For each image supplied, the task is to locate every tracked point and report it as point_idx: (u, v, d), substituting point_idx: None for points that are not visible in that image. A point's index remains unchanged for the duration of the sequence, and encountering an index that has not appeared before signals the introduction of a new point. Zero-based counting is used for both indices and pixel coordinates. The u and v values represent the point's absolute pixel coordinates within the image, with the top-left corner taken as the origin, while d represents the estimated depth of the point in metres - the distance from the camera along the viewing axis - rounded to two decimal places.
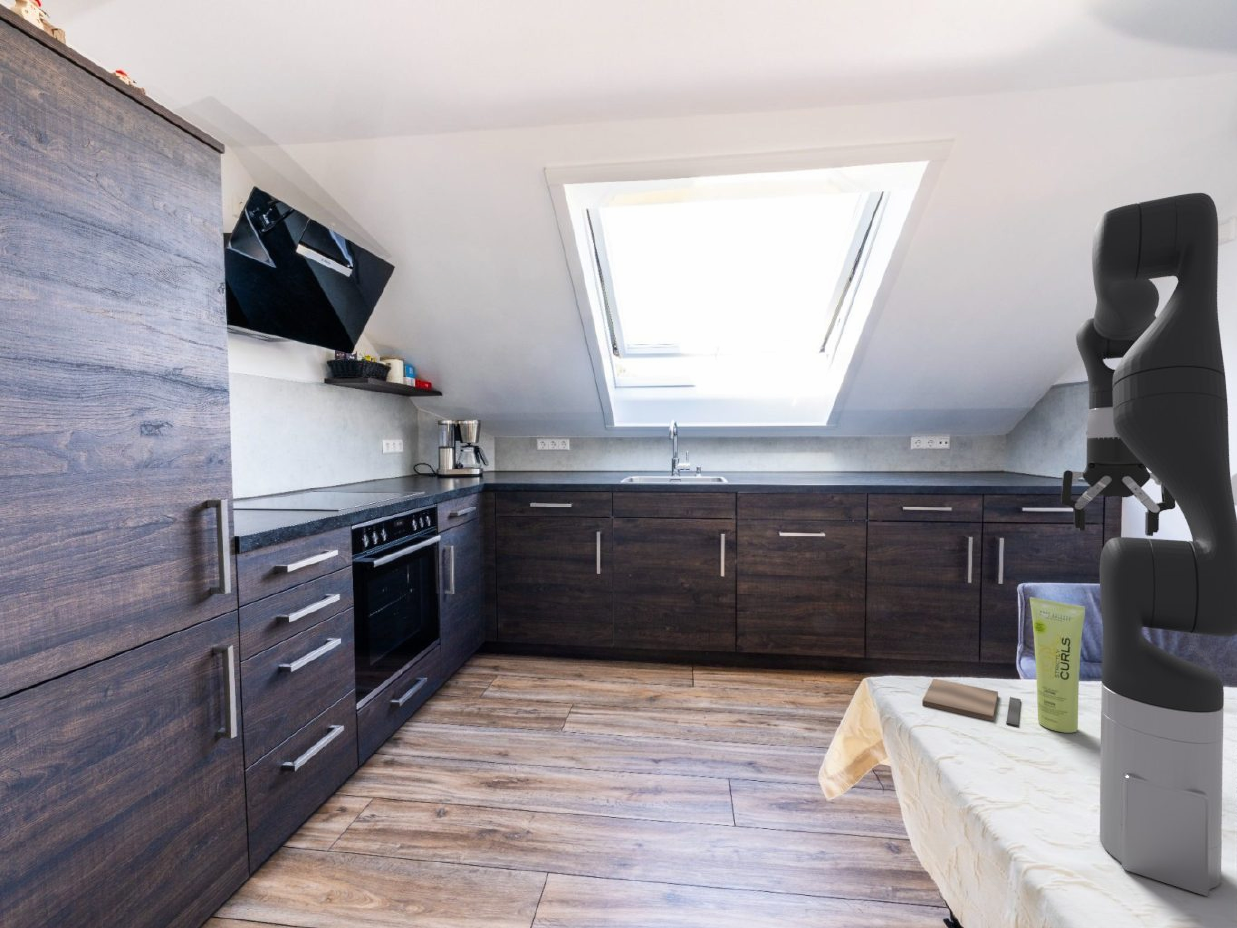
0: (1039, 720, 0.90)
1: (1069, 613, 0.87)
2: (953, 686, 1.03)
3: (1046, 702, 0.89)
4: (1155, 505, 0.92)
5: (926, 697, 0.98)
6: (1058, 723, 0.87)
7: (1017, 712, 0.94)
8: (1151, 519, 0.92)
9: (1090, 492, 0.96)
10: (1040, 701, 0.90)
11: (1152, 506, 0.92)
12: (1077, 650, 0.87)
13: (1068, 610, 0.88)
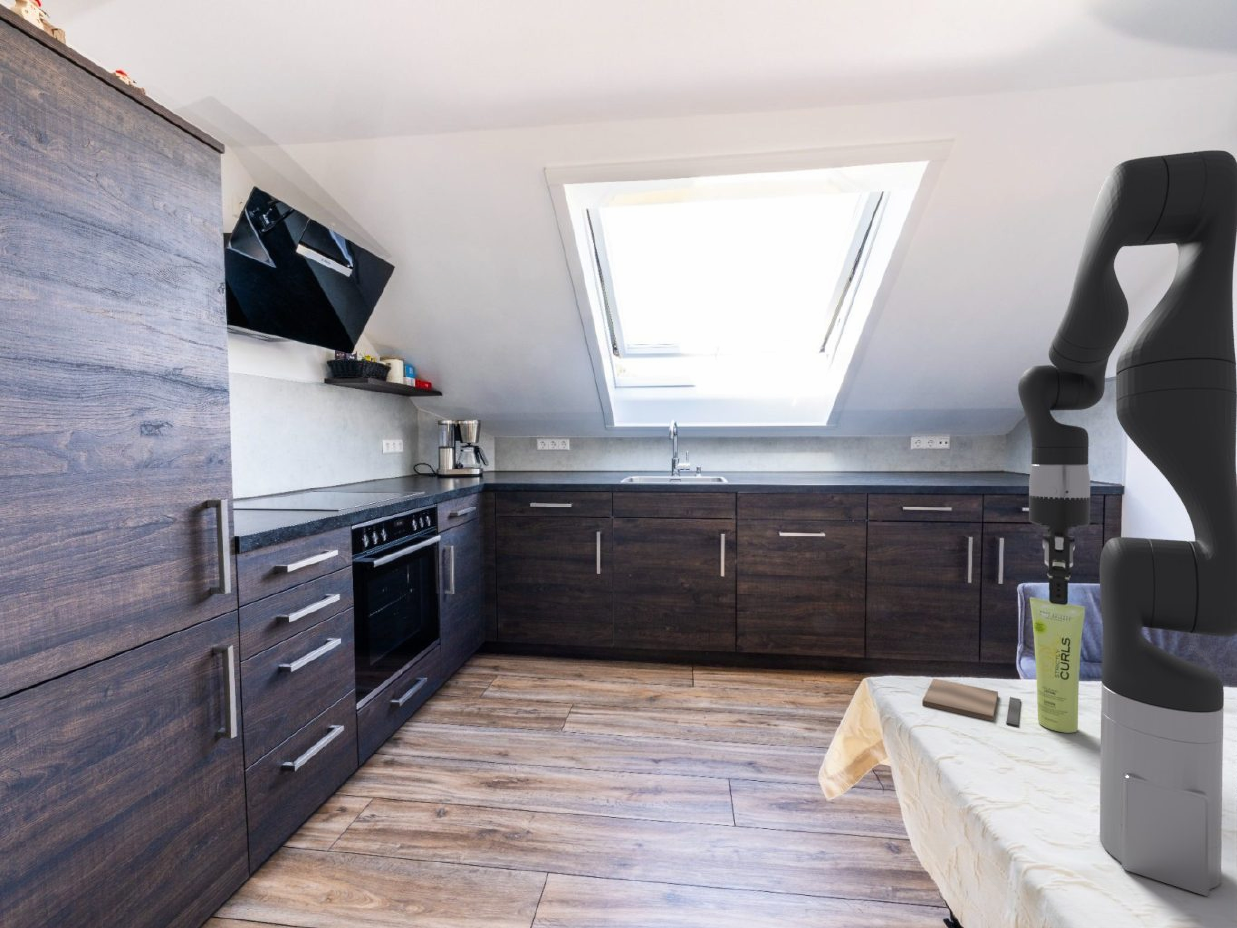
0: (1039, 720, 0.90)
1: (1069, 613, 0.87)
2: (953, 686, 1.03)
3: (1046, 702, 0.89)
4: None
5: (926, 697, 0.98)
6: (1058, 723, 0.87)
7: (1017, 712, 0.94)
8: None
9: None
10: (1040, 701, 0.90)
11: None
12: (1077, 650, 0.87)
13: (1068, 610, 0.88)
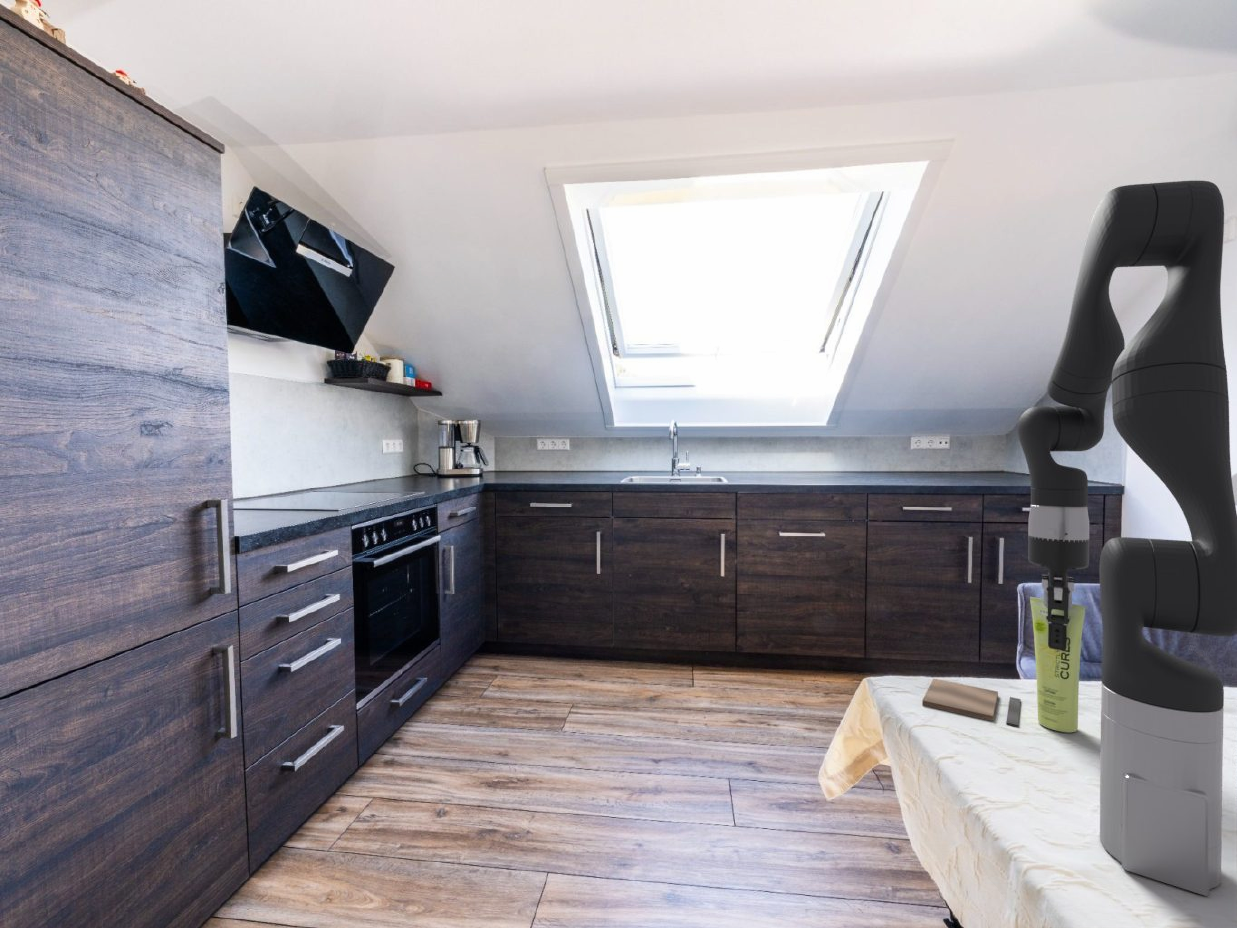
0: (1039, 720, 0.90)
1: (1069, 613, 0.88)
2: (953, 686, 1.03)
3: (1046, 702, 0.89)
4: None
5: (926, 697, 0.98)
6: (1058, 722, 0.87)
7: (1017, 712, 0.94)
8: None
9: (1071, 603, 0.86)
10: (1040, 701, 0.90)
11: None
12: (1077, 649, 0.87)
13: None
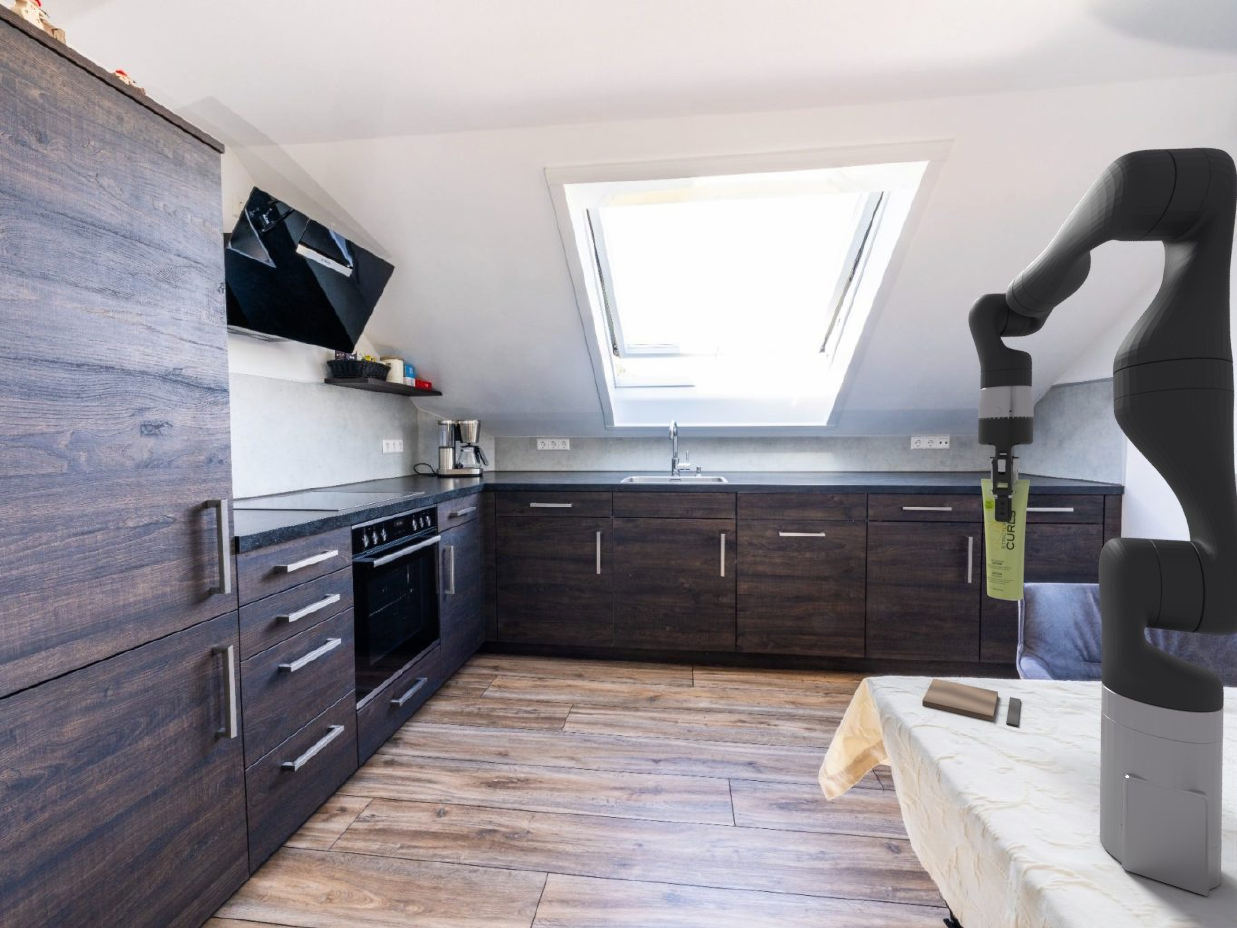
0: (988, 592, 0.95)
1: (1015, 487, 0.93)
2: (953, 686, 1.03)
3: (994, 573, 0.94)
4: None
5: (926, 697, 0.98)
6: (1004, 591, 0.92)
7: (1017, 712, 0.94)
8: None
9: (1016, 478, 0.91)
10: (989, 574, 0.95)
11: None
12: (1022, 521, 0.92)
13: (1014, 485, 0.93)
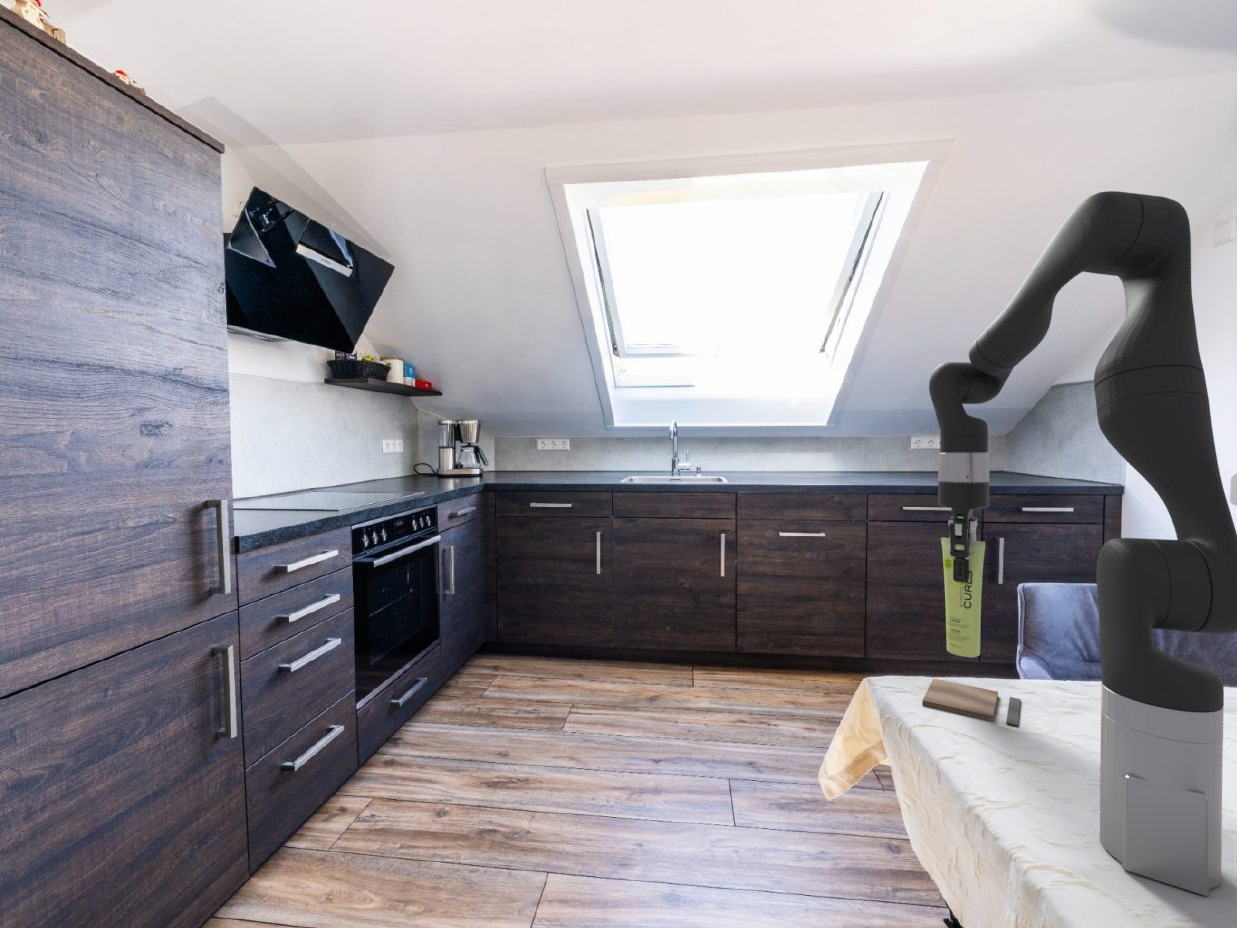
0: (947, 648, 0.99)
1: (972, 549, 0.97)
2: (953, 686, 1.03)
3: (952, 630, 0.98)
4: None
5: (926, 697, 0.98)
6: (962, 648, 0.96)
7: (1017, 712, 0.94)
8: None
9: (973, 540, 0.96)
10: (948, 630, 0.99)
11: None
12: (978, 581, 0.96)
13: None
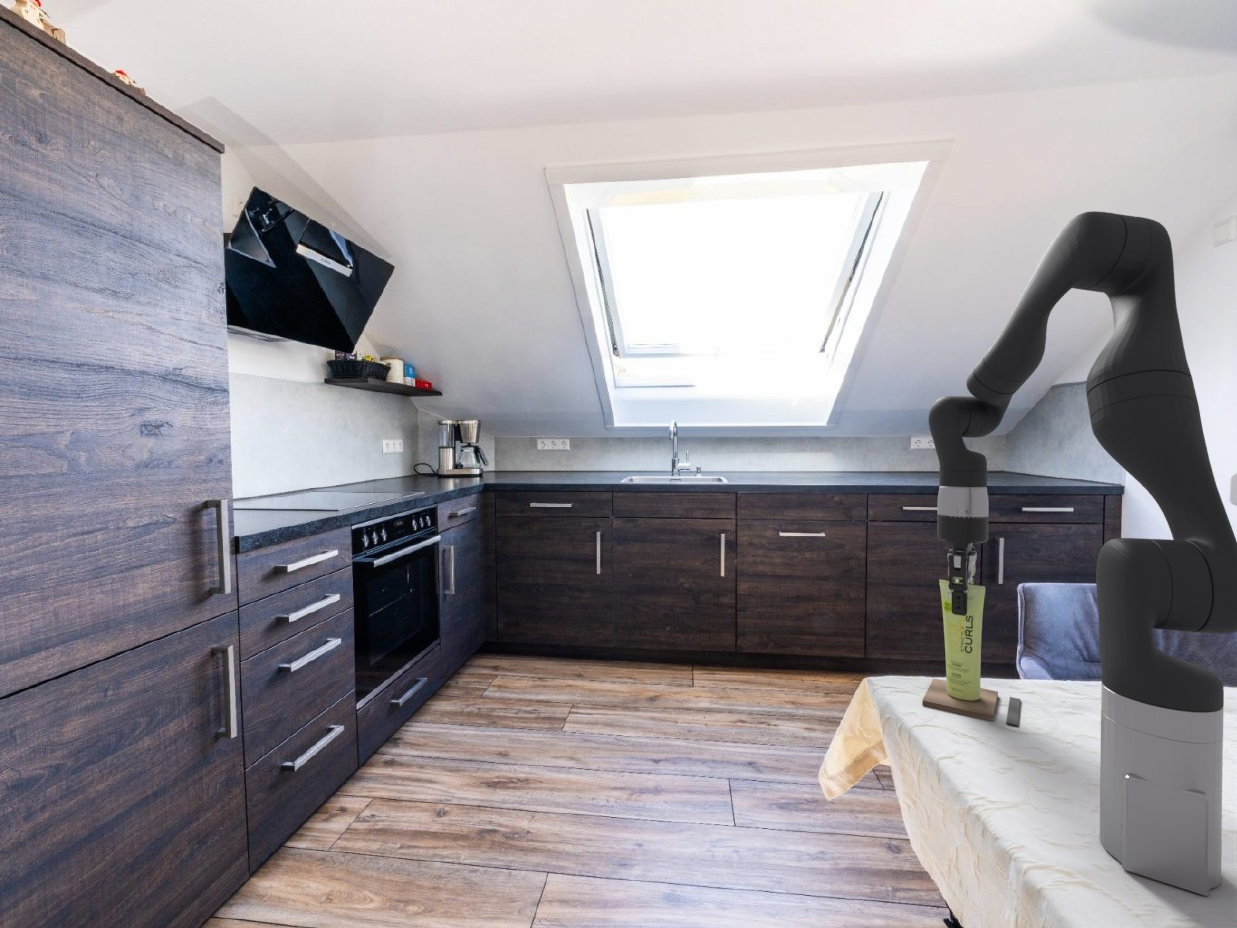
0: (948, 690, 0.99)
1: (972, 593, 0.97)
2: None
3: (953, 674, 0.98)
4: (972, 578, 1.01)
5: (926, 697, 0.98)
6: (963, 692, 0.97)
7: (1017, 712, 0.94)
8: None
9: (971, 573, 0.95)
10: (948, 673, 0.99)
11: (972, 580, 1.01)
12: (979, 626, 0.96)
13: (971, 590, 0.97)
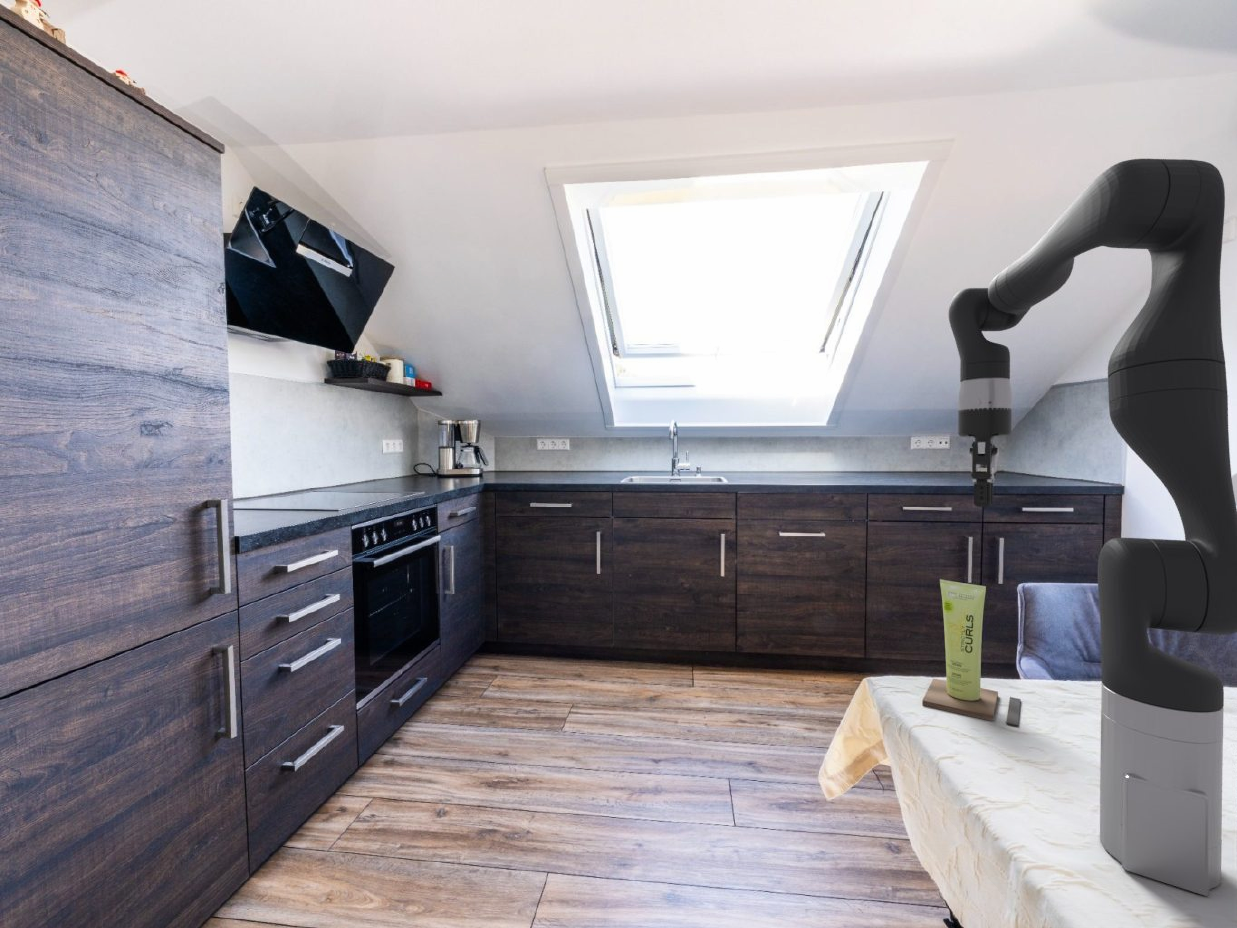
0: (948, 691, 0.99)
1: (973, 593, 0.97)
2: None
3: (953, 674, 0.98)
4: None
5: (926, 697, 0.98)
6: (963, 692, 0.97)
7: (1017, 712, 0.94)
8: None
9: (995, 464, 0.92)
10: (948, 673, 0.99)
11: (993, 476, 0.99)
12: (979, 626, 0.96)
13: (972, 590, 0.97)
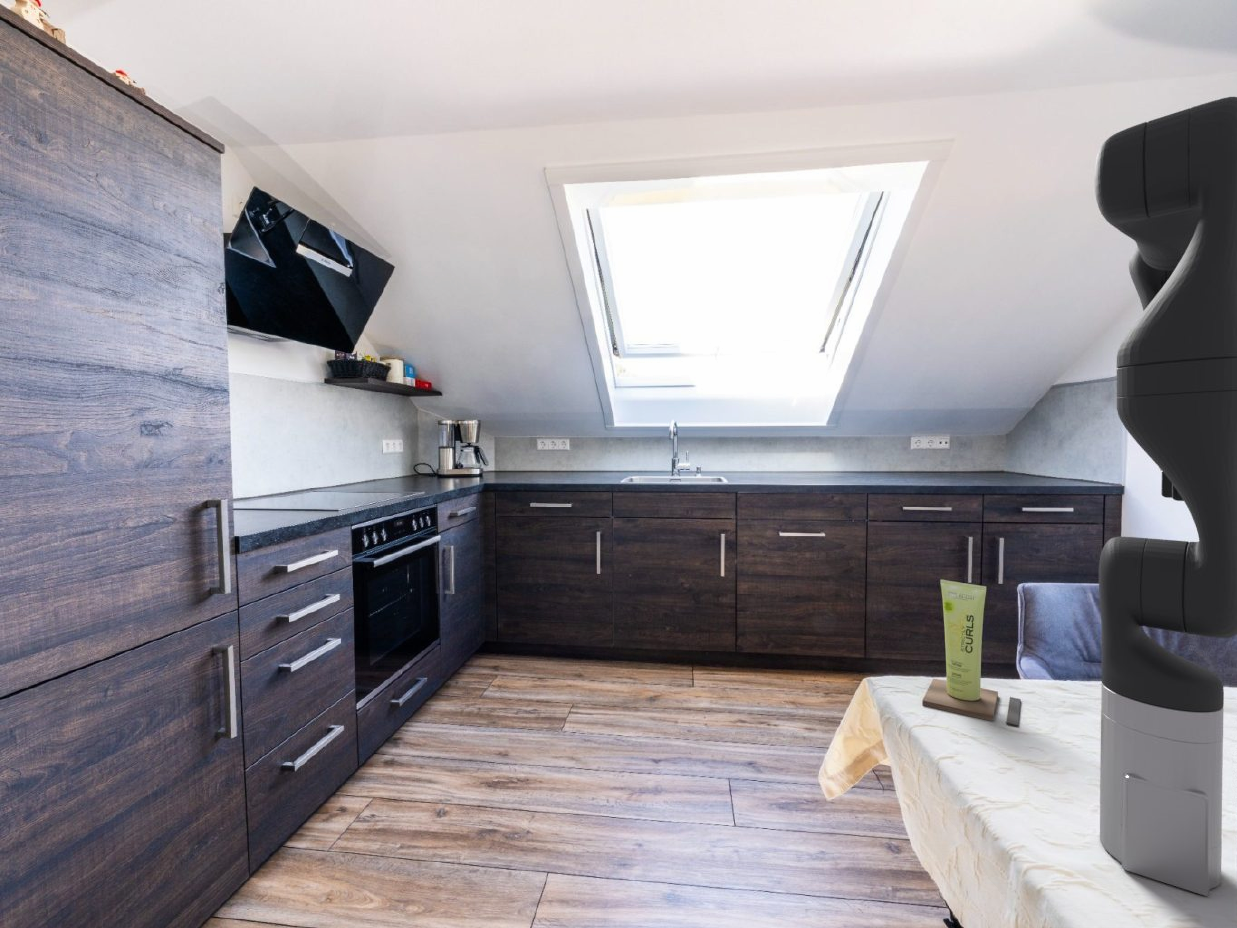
0: (948, 690, 0.99)
1: (973, 593, 0.97)
2: None
3: (953, 674, 0.98)
4: None
5: (926, 697, 0.98)
6: (963, 692, 0.97)
7: (1017, 712, 0.94)
8: None
9: None
10: (948, 673, 0.99)
11: None
12: (979, 626, 0.96)
13: (972, 590, 0.97)
